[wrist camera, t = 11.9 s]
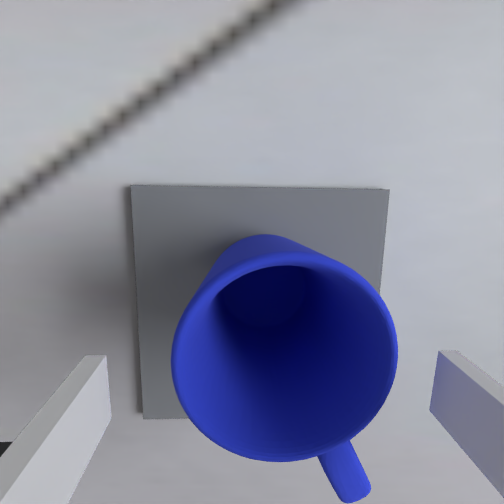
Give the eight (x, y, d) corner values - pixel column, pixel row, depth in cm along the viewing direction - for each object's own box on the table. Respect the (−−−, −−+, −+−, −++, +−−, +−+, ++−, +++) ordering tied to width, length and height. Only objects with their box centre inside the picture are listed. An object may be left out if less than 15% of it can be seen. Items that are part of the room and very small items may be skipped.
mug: (259, 405, 23) (277, 566, 13) (176, 256, 21) (125, 319, 11) (365, 356, 23) (463, 483, 13) (293, 198, 20) (348, 210, 11)
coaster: (133, 185, 20) (130, 185, 20) (385, 189, 21) (389, 189, 21) (145, 413, 23) (143, 419, 23) (364, 408, 24) (367, 414, 24)
